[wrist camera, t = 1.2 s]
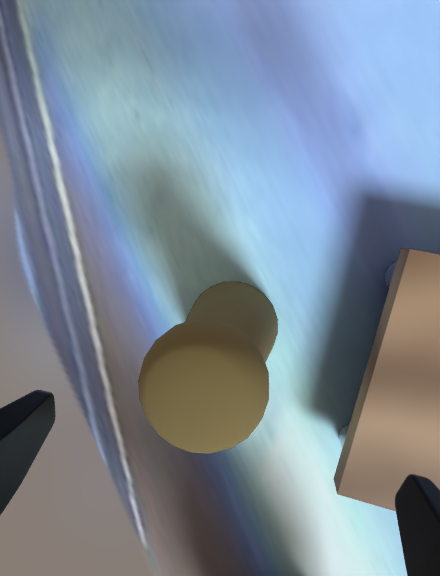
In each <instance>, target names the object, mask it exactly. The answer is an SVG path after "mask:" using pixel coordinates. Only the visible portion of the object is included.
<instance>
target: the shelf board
mask: <svg viewBox="0 0 440 576" xmlns="http://www.w3.org/2000/svg"><path fill="white" fill-rule="evenodd" d="M410 474H415V475H419V476H424V477H427V478H428V479H430V480H431V481H432V482H433V483H434V484H435V485H436V486H437V487H438V488H439V490H440V254H434V253H429V252H424V251H419V250H414V249H405V248H401V249H400V253H399V256H398V260H397V263H396V267H395V270H394V273H393V277H392V280H391V284H390V287H389V291H388V294H387V297H386V301H385V304H384V308H383V311H382V315H381V318H380V322H379V325H378V328H377V332H376V335H375V339H374V342H373V346H372V349H371V352H370V356H369V359H368V363H367V366H366V370H365V373H364V377H363V380H362V383H361V387H360V390H359V394H358V397H357V401H356V404H355V407H354V411H353V414H352V418H351V421H350V425H349V428H348V431H347V435H346V438H345V442H344V445H343V449H342V452H341V456H340V459H339V462H338V466H337V469H336V473H335V476H334V482H335V486H336V490H337V494H339V495H342V496H346V497H349V498H352V499H356V500H359V501H363V502H366V503H369V504H373V505H376V506H380V507H383V508H387V509H390V510H393V511H396V508H395V496H396V493H397V491H398V490H399V488H400V486H401V485H402V483H403V482H404V480H405V478H406V477H407V476H408V475H410Z"/></svg>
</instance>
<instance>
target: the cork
mask: <svg viewBox="0 0 440 576" xmlns="http://www.w3.org/2000/svg"><path fill="white" fill-rule="evenodd" d="M277 333H278V319H277V316H276V313H275V310H274V307H273V305H272V304H271V302H270V301H269V300H268V298H267V297H266V296H265V295H264V294H263V293H262V292H260V291H259V290H258V289H256V288H255V287H253V286H251V285H248V284H245V283H241V282H223V283H220V284H217V285H214V286H211V287H210V288H209V289H207V290H206V291H205V292H204V293H202V294H201V295H200V296H199V298H198V299H197V301H196V303H195V304H194V306H193V307H192V309H191V311H190V313H189V315H188V317H187V319H186V321H185V322H184V323H181V324H178V325H175V326H174V327H173V328H171V329H170V330H169V331H168V332H166V333H165V334H164V335H162V336H161V337H160V338H158V339H157V340H156V341H155V342H154V344H153V345H152V347H151V348H150V350H149V351H148V353H147V355H146V356H145V358H144V361H143V364H142V368H141V372H140V376H139V380H138V383H139V396H140V402H141V405H142V407H143V410H144V412H145V415H146V417H147V420H148V422H149V423H150V424H151V426H152V427H153V428H154V429H155V431H156V432H157V433H158V434H159V436H161V437H162V438H163V439H165V440H166V441H168V442H169V443H170V444H172V445H173V446H175V447H178V448H180V449H183V450H186V451H188V452H192V453H206V454H210V453H214V452H218V451H222V450H226V449H230V448H232V447H234V446H235V445H237V444H239V443H240V442H242V441H243V440H245V439H247V438H248V436H249V435H250V434H251V433H252V431H253V430H254V429H255V428H256V426H257V425H258V424H259V422H260V421H261V419H262V418H263V415H264V412H265V409H266V406H267V403H268V400H269V373H268V370H267V367H266V364H265V362H266V360H267V358H268V356H269V354H270V352H271V350H272V348H273V346H274V343H275V339H276V336H277Z"/></svg>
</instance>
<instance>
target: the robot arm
mask: <svg viewBox="0 0 440 576" xmlns="http://www.w3.org/2000/svg"><path fill="white" fill-rule="evenodd" d="M54 421H55V401H54V395H53V394H52V393H50V392H46V391H42V390H36V391H33V392H31V393H29V394H27V395H25V396H24V397H21V398H20V399H18V400H16V401H14V402H12V403H10V404H8V405H6V406H4V407H2V408H0V515H1V513H2V512H3V511H4V509H5V508H6V506H7V504H8V503H9V501H10V500H11V499H12V497H13V495H14V494H15V492H16V491H17V489H18V488H19V486H20V485H21V483H22V481H23V479H24V478H25V476H26V474H27V472H28V470H29V468H30V467H31V465H32V463H33V461H34V459H35V457H36V456H37V454H38V452H39V450H40V448H41V446H42V444H43V443H44V441H45V439H46V437H47V435H48V433H49V432H50V430H51V428H52V426H53V424H54ZM395 508H396V514H397V520H398V525H399V531H400V537H401V542H402V548H403V554H404V559H405V565H406V570H407V575H408V576H440V490H439V488H438V487H437V486H436V485H435V484H434V483H433V482H432V481H431V480H430V479H428V478H427V477H424V476H419V475H415V474H410V475H408V476H407V477H406V478H405V480H404V482H403V483H402V485H401V486H400V488H399V490H398V491H397V493H396V496H395Z"/></svg>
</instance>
